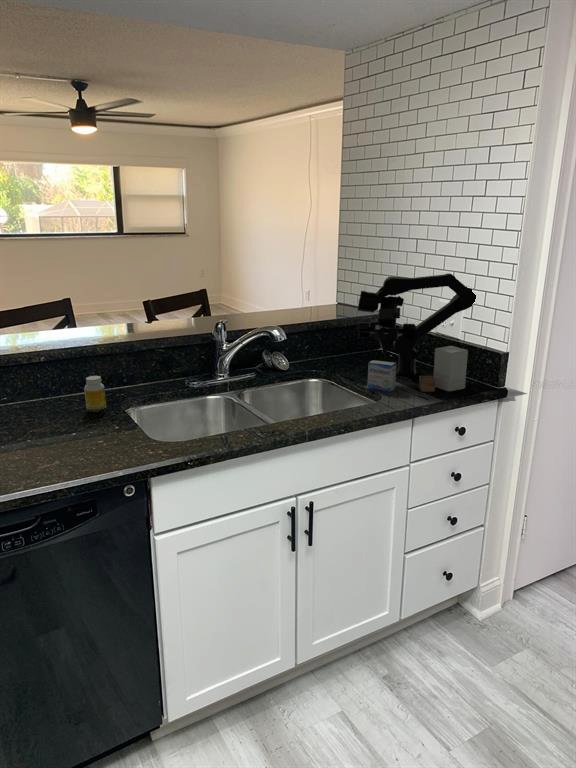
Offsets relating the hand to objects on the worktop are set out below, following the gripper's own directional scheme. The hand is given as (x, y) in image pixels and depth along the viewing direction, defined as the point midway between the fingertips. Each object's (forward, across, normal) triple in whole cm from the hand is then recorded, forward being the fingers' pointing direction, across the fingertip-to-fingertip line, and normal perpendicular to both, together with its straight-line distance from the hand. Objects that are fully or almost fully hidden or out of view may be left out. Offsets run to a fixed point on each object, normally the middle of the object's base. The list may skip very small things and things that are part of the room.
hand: (384, 352), depth 182 cm
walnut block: (+10, +14, +4) cm, 18 cm away
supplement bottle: (+39, -77, -25) cm, 90 cm away
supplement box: (+7, +21, +8) cm, 23 cm away
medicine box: (+12, 0, +3) cm, 12 cm away
